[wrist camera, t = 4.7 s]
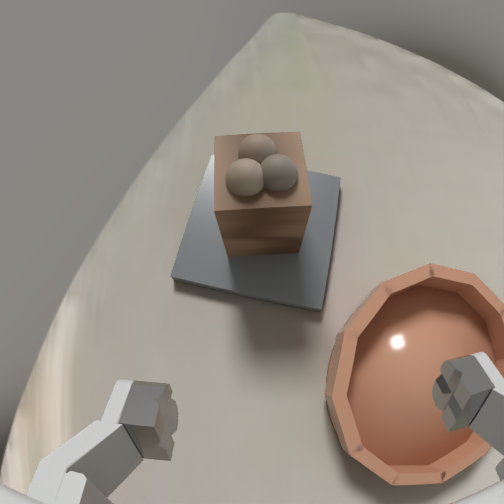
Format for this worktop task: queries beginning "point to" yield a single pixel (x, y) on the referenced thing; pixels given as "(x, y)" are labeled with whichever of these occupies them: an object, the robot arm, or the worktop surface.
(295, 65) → the worktop surface
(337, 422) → the bowl
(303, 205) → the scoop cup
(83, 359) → the worktop surface
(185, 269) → the parts tray
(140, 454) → the robot arm
